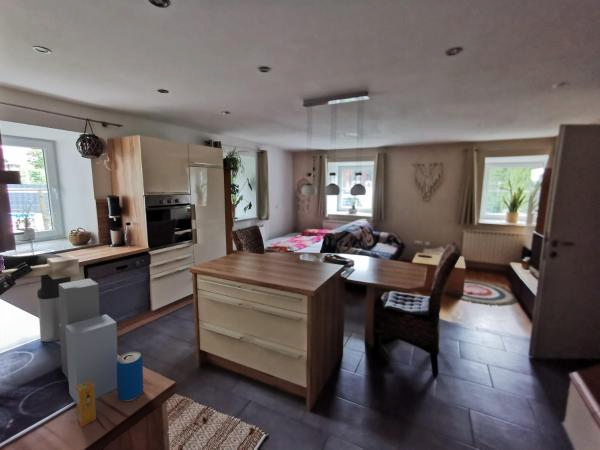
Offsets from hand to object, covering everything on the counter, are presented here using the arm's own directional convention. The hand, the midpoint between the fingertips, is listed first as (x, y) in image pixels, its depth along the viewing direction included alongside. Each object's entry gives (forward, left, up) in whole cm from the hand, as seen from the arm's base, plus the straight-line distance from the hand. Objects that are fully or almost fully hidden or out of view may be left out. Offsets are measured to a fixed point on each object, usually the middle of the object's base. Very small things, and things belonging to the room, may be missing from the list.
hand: (28, 266), depth 77 cm
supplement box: (+22, +5, -38) cm, 45 cm away
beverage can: (+21, +16, -38) cm, 47 cm away
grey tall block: (+11, +10, -38) cm, 41 cm away
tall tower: (-1, +11, -38) cm, 40 cm away
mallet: (0, +3, -4) cm, 5 cm away
